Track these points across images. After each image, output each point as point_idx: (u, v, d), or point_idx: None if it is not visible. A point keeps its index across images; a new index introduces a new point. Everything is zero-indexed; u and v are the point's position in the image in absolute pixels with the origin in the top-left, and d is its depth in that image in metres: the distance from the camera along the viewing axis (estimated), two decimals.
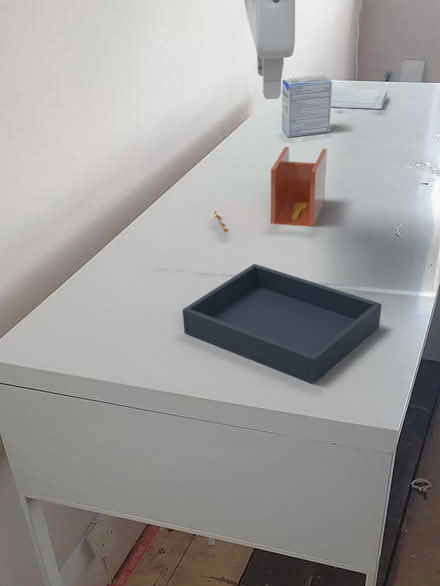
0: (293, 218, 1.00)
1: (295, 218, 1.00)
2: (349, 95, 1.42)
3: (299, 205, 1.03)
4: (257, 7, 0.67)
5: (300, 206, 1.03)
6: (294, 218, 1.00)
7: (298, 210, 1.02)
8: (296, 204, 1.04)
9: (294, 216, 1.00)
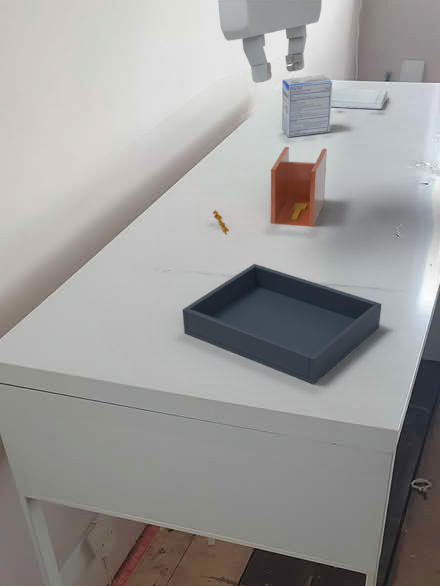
0: (293, 218, 1.00)
1: (295, 218, 1.00)
2: (349, 95, 1.42)
3: (299, 205, 1.03)
4: None
5: (300, 206, 1.03)
6: (294, 218, 1.00)
7: (298, 210, 1.02)
8: (296, 204, 1.04)
9: (294, 216, 1.00)
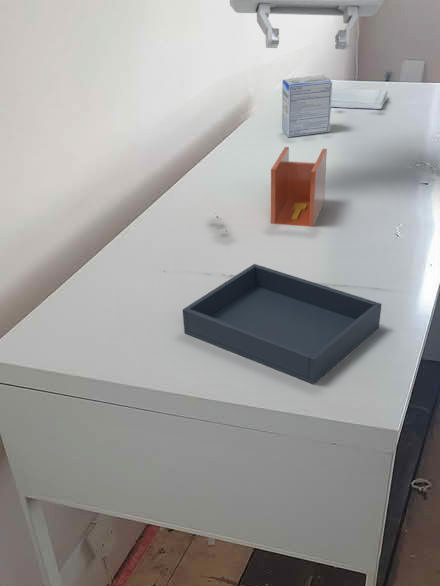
0: (293, 218, 1.00)
1: (295, 218, 1.00)
2: (349, 95, 1.42)
3: (299, 205, 1.03)
4: None
5: (300, 206, 1.03)
6: (294, 218, 1.00)
7: (298, 210, 1.02)
8: (296, 204, 1.04)
9: (294, 216, 1.00)
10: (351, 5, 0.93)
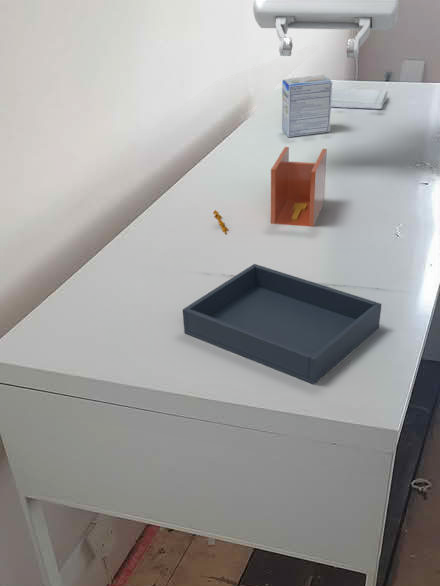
0: (293, 218, 1.00)
1: (295, 218, 1.00)
2: (349, 95, 1.42)
3: (299, 205, 1.03)
4: None
5: (300, 206, 1.03)
6: (294, 218, 1.00)
7: (298, 210, 1.02)
8: (296, 204, 1.04)
9: (294, 216, 1.00)
10: (363, 16, 0.98)
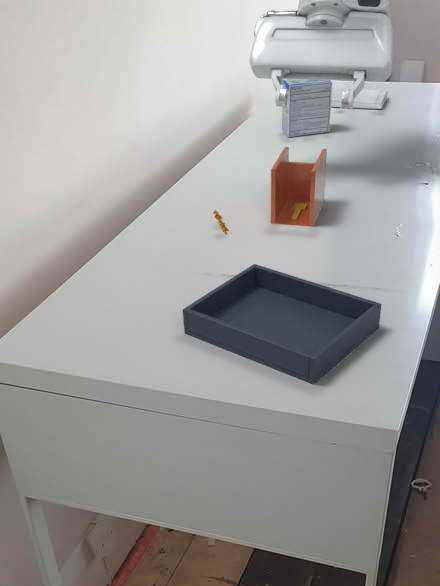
0: (293, 218, 1.00)
1: (295, 218, 1.00)
2: None
3: (299, 205, 1.03)
4: None
5: (300, 206, 1.03)
6: (294, 218, 1.00)
7: (298, 210, 1.02)
8: (296, 204, 1.04)
9: (294, 216, 1.00)
10: (357, 69, 0.99)
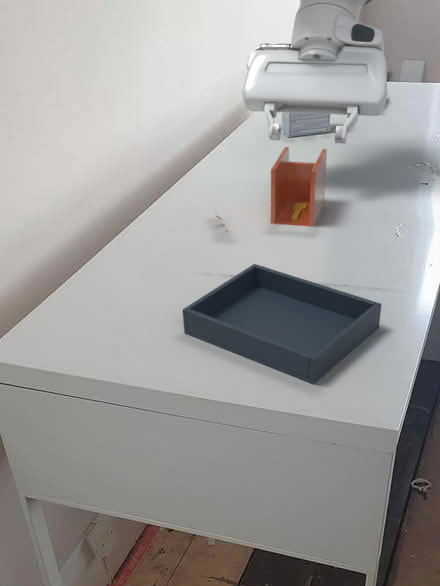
0: (293, 218, 1.00)
1: (295, 218, 1.00)
2: None
3: (299, 205, 1.03)
4: None
5: (300, 206, 1.03)
6: (294, 218, 1.00)
7: (298, 210, 1.02)
8: (296, 204, 1.04)
9: (294, 216, 1.00)
10: (351, 104, 0.98)
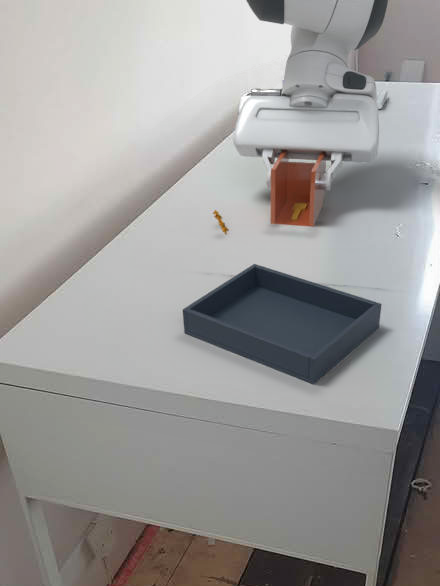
0: (293, 218, 1.00)
1: (295, 218, 1.00)
2: None
3: (299, 205, 1.03)
4: None
5: (300, 206, 1.03)
6: (294, 218, 1.00)
7: (298, 210, 1.02)
8: (296, 204, 1.04)
9: (294, 216, 1.00)
10: (342, 151, 0.97)
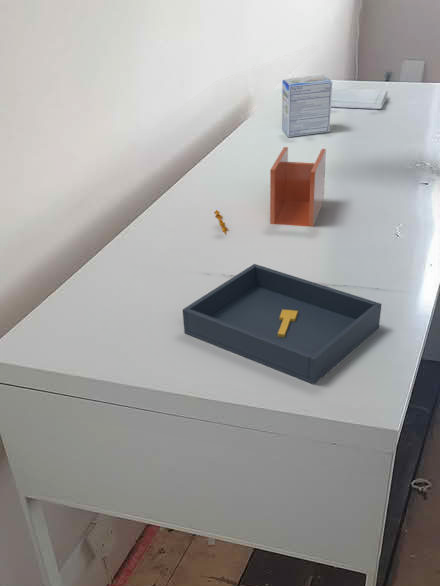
0: (280, 334, 0.78)
1: (282, 335, 0.78)
2: (349, 95, 1.41)
3: (287, 314, 0.81)
4: None
5: (289, 315, 0.81)
6: (281, 335, 0.78)
7: (286, 321, 0.80)
8: (284, 312, 0.81)
9: (281, 332, 0.78)
10: None
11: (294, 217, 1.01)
